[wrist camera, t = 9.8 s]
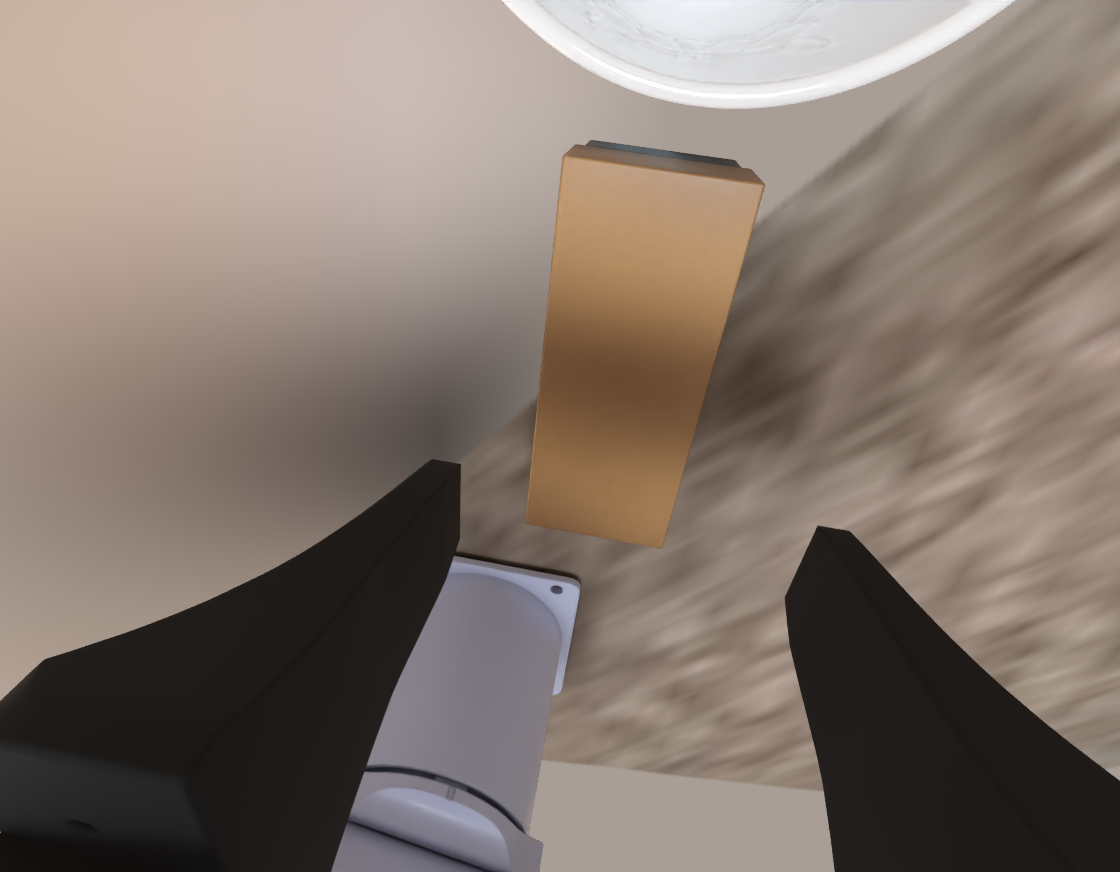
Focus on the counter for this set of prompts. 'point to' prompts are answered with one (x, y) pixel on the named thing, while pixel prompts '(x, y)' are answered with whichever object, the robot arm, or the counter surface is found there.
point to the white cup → (749, 43)
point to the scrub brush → (632, 332)
